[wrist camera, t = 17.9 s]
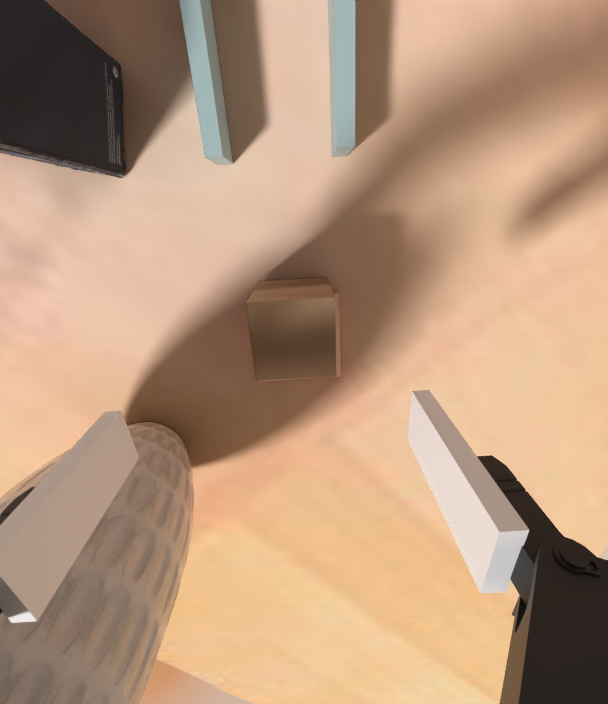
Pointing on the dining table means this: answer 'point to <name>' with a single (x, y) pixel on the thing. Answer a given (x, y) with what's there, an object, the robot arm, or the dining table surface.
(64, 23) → the small box
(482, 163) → the dining table surface
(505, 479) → the robot arm
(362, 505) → the dining table surface
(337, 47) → the channel
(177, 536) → the vase
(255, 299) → the block
